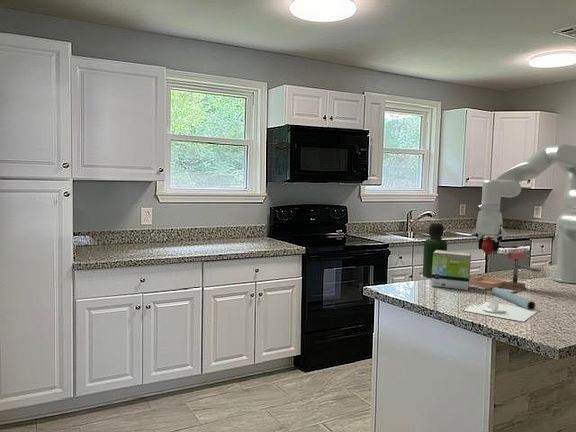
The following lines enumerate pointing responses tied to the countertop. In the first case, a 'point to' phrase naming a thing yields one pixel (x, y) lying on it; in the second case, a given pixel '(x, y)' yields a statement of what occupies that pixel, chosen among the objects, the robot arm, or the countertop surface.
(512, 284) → the tan frame with plate
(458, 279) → the tea box
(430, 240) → the green bottle
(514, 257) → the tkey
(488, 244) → the onion
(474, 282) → the dish
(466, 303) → the countertop surface
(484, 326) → the countertop surface
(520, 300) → the aluminum foil
